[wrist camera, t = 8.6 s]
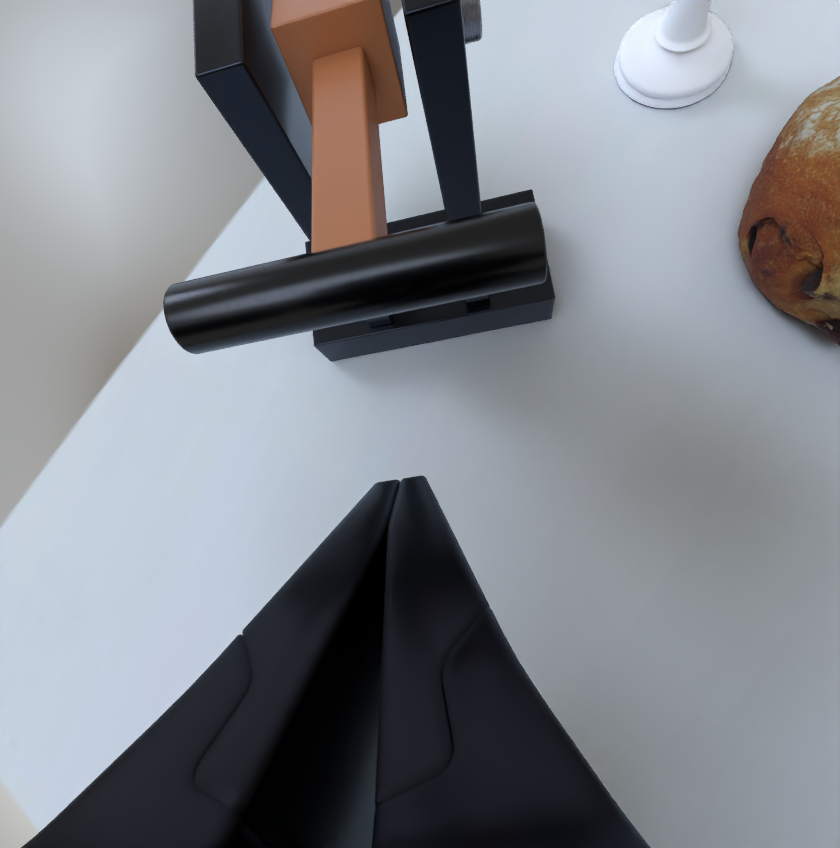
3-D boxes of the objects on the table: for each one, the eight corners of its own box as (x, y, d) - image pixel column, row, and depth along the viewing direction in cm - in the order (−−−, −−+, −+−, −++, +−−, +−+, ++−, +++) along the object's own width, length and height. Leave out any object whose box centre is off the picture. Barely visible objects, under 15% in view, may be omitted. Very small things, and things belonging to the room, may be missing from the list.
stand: (551, 318, 21) (616, -34, 8) (330, 361, 23) (75, 124, 9) (530, 217, 22) (557, -237, 9) (321, 264, 24) (82, -68, 11)
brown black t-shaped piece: (545, 320, 8) (550, 209, 6) (222, 383, 9) (129, 304, 7) (474, 25, 12) (462, -107, 10) (249, 89, 13) (194, -19, 11)
